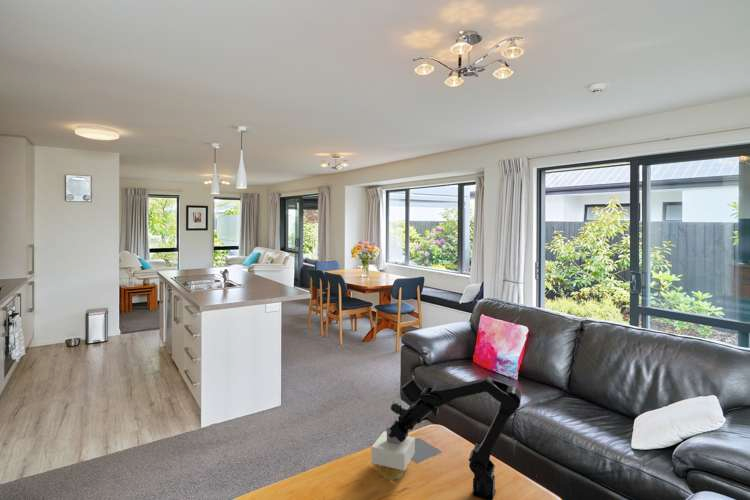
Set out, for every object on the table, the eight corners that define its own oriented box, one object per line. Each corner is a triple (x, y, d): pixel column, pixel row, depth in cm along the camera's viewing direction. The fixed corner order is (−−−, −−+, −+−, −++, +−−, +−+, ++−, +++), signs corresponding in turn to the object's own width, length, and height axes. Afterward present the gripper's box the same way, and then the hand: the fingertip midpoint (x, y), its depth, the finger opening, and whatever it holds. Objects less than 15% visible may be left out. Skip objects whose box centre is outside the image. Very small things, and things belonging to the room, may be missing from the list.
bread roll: (392, 484, 144) (392, 473, 143) (375, 472, 150) (375, 462, 150) (408, 475, 149) (408, 464, 149) (391, 464, 156) (391, 454, 156)
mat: (442, 452, 164) (442, 451, 164) (416, 464, 156) (416, 463, 156) (418, 438, 175) (418, 437, 175) (393, 448, 167) (394, 447, 167)
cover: (414, 452, 154) (414, 423, 154) (404, 470, 143) (404, 439, 142) (384, 446, 159) (384, 417, 159) (371, 462, 147) (371, 432, 147)
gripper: (411, 384, 157) (385, 407, 162) (395, 403, 140) (366, 428, 144) (431, 408, 154) (403, 430, 159) (417, 430, 137) (386, 454, 142)
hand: (390, 435), depth 151 cm, fingers closed on cover
